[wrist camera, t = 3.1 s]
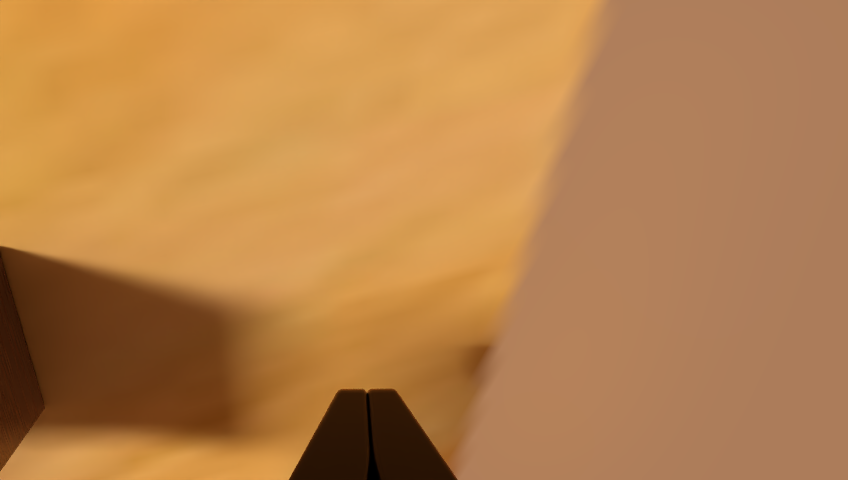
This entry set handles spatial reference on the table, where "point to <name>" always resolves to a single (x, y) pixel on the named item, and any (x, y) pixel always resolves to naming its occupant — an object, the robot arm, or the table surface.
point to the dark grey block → (14, 378)
